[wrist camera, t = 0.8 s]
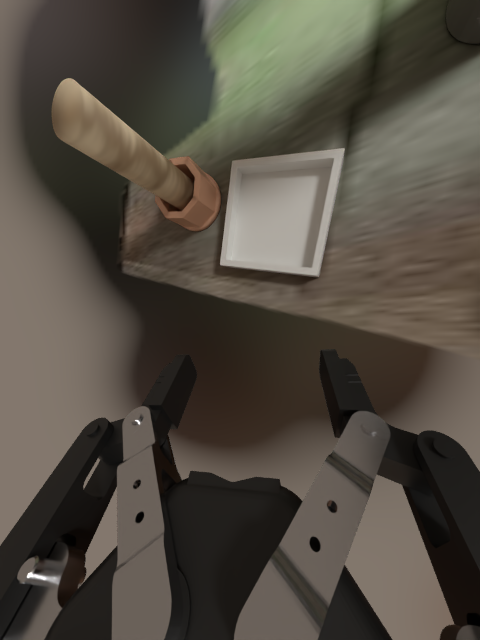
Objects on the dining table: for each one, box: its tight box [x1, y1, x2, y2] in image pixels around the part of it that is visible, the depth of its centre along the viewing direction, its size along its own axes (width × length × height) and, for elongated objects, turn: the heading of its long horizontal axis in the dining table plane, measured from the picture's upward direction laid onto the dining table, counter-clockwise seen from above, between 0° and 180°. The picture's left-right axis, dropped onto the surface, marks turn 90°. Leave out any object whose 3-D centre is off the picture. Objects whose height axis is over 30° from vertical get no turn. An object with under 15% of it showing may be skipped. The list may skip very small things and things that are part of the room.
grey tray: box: [220, 148, 345, 278], centre depth 31 cm, size 16×16×3 cm
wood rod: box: [52, 78, 195, 211], centre depth 28 cm, size 5×5×20 cm
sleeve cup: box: [155, 156, 221, 232], centre depth 35 cm, size 10×10×6 cm
